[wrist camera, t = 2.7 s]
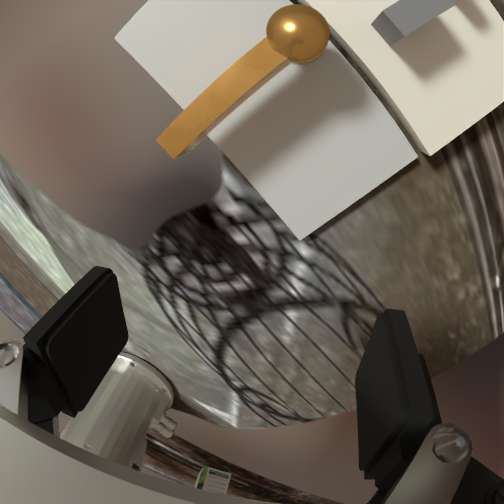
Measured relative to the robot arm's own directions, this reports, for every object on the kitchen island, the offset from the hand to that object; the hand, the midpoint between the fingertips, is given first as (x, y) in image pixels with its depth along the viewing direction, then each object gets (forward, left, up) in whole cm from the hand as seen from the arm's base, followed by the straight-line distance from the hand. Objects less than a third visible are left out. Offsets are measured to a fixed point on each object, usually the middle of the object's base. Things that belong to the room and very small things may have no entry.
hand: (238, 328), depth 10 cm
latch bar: (+7, -3, -15) cm, 17 cm away
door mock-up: (+7, -11, -18) cm, 22 cm away
